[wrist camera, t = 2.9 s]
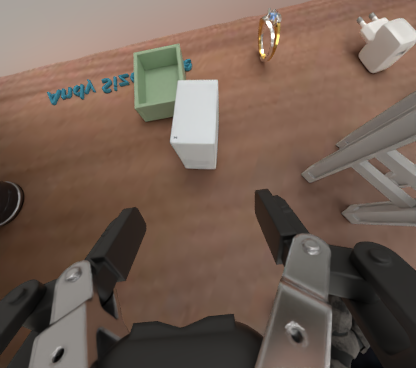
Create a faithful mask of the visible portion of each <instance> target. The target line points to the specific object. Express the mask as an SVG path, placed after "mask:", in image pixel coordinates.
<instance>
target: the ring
mask: <svg viewBox="0 0 416 368" xmlns="http://www.w3.org/2000/svg"><path fill="white" fill-rule="evenodd" d="M276 20H277V22H276ZM280 21H281V15H280V14H279V13H278V11H277V12H276V9H275V10H274V11H273V10H272V11H271V12H270V8H269V10H268V14H267V15H266V16H264V17H262V18H261V19H260V21H259V29H258V48H259V55H260V60H261V61H262V62H267V61H269V60H270V59H271V58H272V57H273V55H274V53H275V50H276V48H277V45H278V41H279V36H280ZM265 25H266V26H267V27H268V29H269V32H270V48H269V52H268V55H267V57H265V53H264V52H263V33H264V28H265ZM272 26H275V27H274V28H275V39H274V30H273V27H272Z"/></svg>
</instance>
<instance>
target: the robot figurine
mask: <svg viewBox="0 0 416 368" xmlns="http://www.w3.org/2000/svg"><path fill="white" fill-rule="evenodd" d="M328 301H329V303H330V304H331V306H332V330H331V353H330V368H351V361H352V359H353V358H354V359H355V358H356V357H357V355H358V353H359V351H360V352H361V353H362V354H364V353H365V352H366V351H367V349H368V348H369V346H370V344H369V343H368V341H367V339H366V338H365V336H364V335H363V333H362V331H361V330H360V328H359V326H358V325H357V323H356V321H355V320H354V318H353V316H352V315H351V313H350V312H349V310H348V308H347V307H346V305H345V303H344V302H343V300H342V298H341V297H339V296H335V295H331V294H328Z"/></svg>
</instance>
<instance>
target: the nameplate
mask: <svg viewBox="0 0 416 368" xmlns="http://www.w3.org/2000/svg"><path fill="white" fill-rule="evenodd" d="M187 63H188V64H187ZM191 67H192V64H191V60H190V59H186V60H185V61H184V69H185V71H189V70H191ZM126 77H129V75H128V74H123V75H119V78H120V79H121V80H122V81H124V82H122V83H119V85H120V86H125V85H129V82H128V81H127V80H125V79H124V78H126ZM113 78H114V90H115V91H117V88H116V87H117V78H116V77H115V76H114V77H113ZM130 78H131V80H132V82H133V83H134V72H133V73H131V76H130ZM87 81H88V84H87V87H86V89H85V91H84V85H83V84H80V86H78V85H76V86H74V88H73V92H74V94H75V95H76V96H80V98H81V99H84V92H85V94H89V91H90V89H91V88H92V90H93V92H96V91H95V89H94V87H93V85H92V83H91V81H90V80H87ZM106 82H107V83H106ZM102 83H106V84H105V85H104V86H103V87H102V90H103V91H104V92H105V93H110V92H111V89H110V88H109V89H107V88H108V87H110V86H111V85H112V82H111V80H110V79H109V78H105V79H102ZM79 88H80V92H78V93H77V91H78V90H79ZM106 89H107V90H106ZM47 94H48V96H49V99H50V101H51V103H52V104H53V105H56V103H57V101H58V99H59V97H60V95H61V98H62V99H66V98H71V97H72V88H71V87H68V95H66V90H65V89H62V91H61V90H57V92H56V94H51V93H50V92H47Z"/></svg>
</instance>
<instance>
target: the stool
mask: <svg viewBox="0 0 416 368" xmlns="http://www.w3.org/2000/svg"><path fill="white" fill-rule="evenodd" d="M415 141H416V91H414V92H413V93H411V94H410V95H408V96H407V97H405V98H404V99H402V100H400V101H399V102H397V103H396V104H394V105H393V106H391V107H390V108H388V109H387V110H385V111H384V112H382V113H381V114H379V115H378V116H376V117H375V118H373V119H372V120H370V121H369V122H367V123H365V124H364V125H362V126H361V127H359V128H358V129H356V130H355V131H353V132H352V133H350V134H349V135H347V136H346V137H344V138H343V139H342V140H341V141H339V142H338V143H337V144H336V146H338V147H339V148H340V149H339V150H337V151H336V152H334V153H332V154H331V155H329V156H327V157H325V158H324V159H322V160H320V161H319V162H317V163H315V164H313V165H312V166H310V167H309V168H308V169H306V170H305V171H304V172H303V173H302V174H301V175H302V176H303V177H304V178H305V179H306V180H307V181H308V182H309V183H311V182H314V181H316V180H319V179H321V178H324V177H326V176H329V175H331V174H334V173H336V172H339V171H341V170H344V169H346V168H349V167H352V168H353V169H354V170H356V171H357V172H358V173H359V174H360V175H361V176H363V177H364V178H365V179H366V180H367V181H368V182H369V183H371V184H372V185H373V186H374V187H375V188H376V189H378V190H379V191H380V192H381V193H382V194H383V195H385V196H386V197H387V198H388V199H389V200H390V201H385V202H375V203H365V204H355V205H350V206H349V207H348V208H347V209H346V210H345V211H343V212H342V213H341V214H343V215H344V216H345V217H346V218H347V219H348V220H349V221H350V222H351V223H352V224H371V225H394V226H416V198H414V199H413V198H411V197H410V196H409V195H408V194H407V193H405V192H404V191H403V190H402V189H400V188H404V187H410V186H411V187H412V188H413V189H414V190H416V165H415V164H413V163H412V162H411V161H410V160H408V159H407V158H406V157H404V156H403V155H402V154H400V153H399V152H398V151H397V150H395V149H397V148H399V147H402V146H405V145H407V144H410V143H412V142H415ZM374 157H375V158H376V159H377V160H379V161H380V162H381V163H382V164H384V165H385V166H386V167H387V168H388V169H390V170H391V172H387V173H386V174H385V175H384V174H382V173H381V172H380V171H379V170H377V169H376V168H375V167H374V166H373V165H371V164H370V163H369V162H368V161H367V160H369V159H372V158H374Z"/></svg>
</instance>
